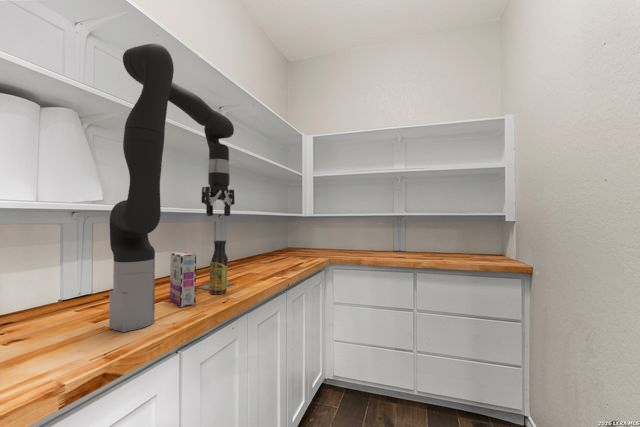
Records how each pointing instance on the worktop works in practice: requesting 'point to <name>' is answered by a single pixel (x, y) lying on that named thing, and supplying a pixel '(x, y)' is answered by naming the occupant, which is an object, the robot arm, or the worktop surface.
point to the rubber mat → (209, 284)
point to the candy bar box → (183, 279)
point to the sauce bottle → (218, 269)
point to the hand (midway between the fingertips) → (218, 215)
